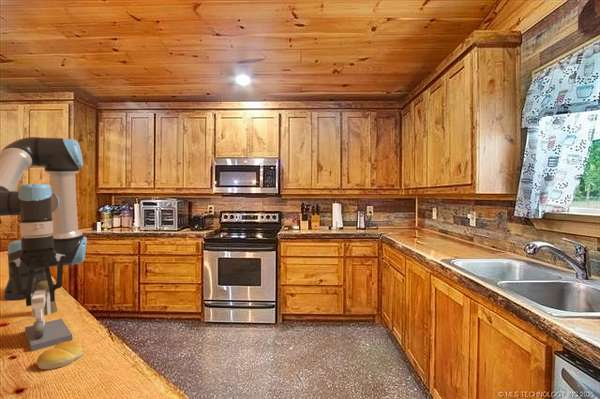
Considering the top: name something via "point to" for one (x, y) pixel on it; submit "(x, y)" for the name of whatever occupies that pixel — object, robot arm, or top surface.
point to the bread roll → (59, 355)
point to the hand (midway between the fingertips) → (41, 314)
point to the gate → (39, 311)
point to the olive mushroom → (52, 304)
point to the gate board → (49, 334)
